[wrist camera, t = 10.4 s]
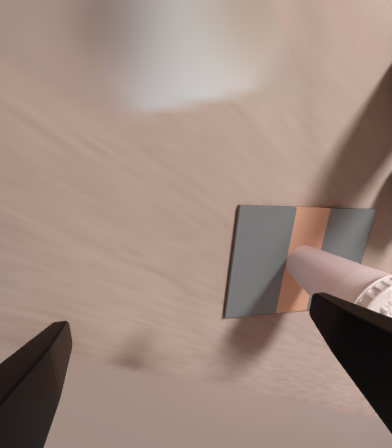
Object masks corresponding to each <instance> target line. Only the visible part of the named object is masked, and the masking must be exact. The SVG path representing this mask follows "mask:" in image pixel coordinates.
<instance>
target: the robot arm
mask: <svg viewBox="0 0 392 448" xmlns="http://www.w3.org/2000/svg"><path fill="white" fill-rule="evenodd" d="M309 313H310V316H311V318H312V320H313V322H314V323H315V325H316V327H317V328H318V330H319V331H320V333H321V335H322V336H323V338H324V340H325V341H326V343H327V345H328V346H329V348H330V349H331V351H332V353H333V354H334V355H335V357H336V358H337V360H338V361H339V362H340V364H341V365H342V367H343V368H344V369H345V371H346V372H347V373H348V375H349V376H350V377H351V379H352V380H353V382H354V383H355V384H356V386H357V387H358V388H359V390H360V391H361V392H362V394H363V395H364V397H365V398H366V399H367V401H368V402H369V403H370V405H371V406H372V408H373V409H374V410H375V412H376V413H377V414H378V416H379V417H380V418H381V420H382V421H383V423H384V424H385V425H386V427H387V428H388V429H389V431H390V432H391V433H392V318H391V317H388V316H386V315H383V314H380V313H378V312H375V311H372V310H370V309H367V308H364V307H362V306H359V305H356V304H354V303H351V302H349V301H346V300H343V299H341V298H338V297H335V296H333V295H330V294H327V293H324V292H320V293H314V294H313V295H312V299H311V304H310V310H309ZM71 350H72V337H71V332H70V326H69V323H68V322H67V321H60V322H54V323H52V324H51V325H50V326H48V327H47V328H46V329H44V330H43V331H42V332H41V333H39V334H38V335H37V336H35V337H34V338H33V339H32V340H30V341H29V342H28V343H26V344H25V345H24V346H23V347H21V348H20V349H19V350H17V351H16V352H15V353H14V354H12V355H11V356H10V357H8V358H7V359H6V360H5V361H3V362H2V363H1V364H0V448H43V447H44V444H45V442H46V439H47V436H48V433H49V430H50V427H51V424H52V421H53V418H54V415H55V412H56V409H57V406H58V403H59V400H60V396H61V393H62V389H63V384H64V380H65V376H66V371H67V367H68V363H69V358H70V354H71Z"/></svg>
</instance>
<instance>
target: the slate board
mask: <svg viewBox="0 0 392 448" xmlns="http://www.w3.org/2000/svg"><path fill="white" fill-rule="evenodd" d="M375 213H376V210H375V209H354V208H322V207H291V206H259V205H238V213H237V221H236V228H235V236H234V244H233V251H232V259H231V266H230V274H229V282H228V289H227V297H226V304H225V312H224V317H225V318H233V317H243V316H253V315H263V314H273V313H283V312H293V311H303V310H310V304H311V299H312V298H311V297H310V296H309V294H308V293H307V292H306V291H305V290H304V289H303V288H302V287H301V286H300V285H299V284H298V283H297V282H296V280H295V279H294V278H293V277H292V276H291V275H290V274H289V273H288V271H287V268H286V262H287V259H288V257H289V255H290V253H291V252H292V251H293V250H294V249H296V248H297V247H299V246H302V245H308V246H311V247H314V248H317V249H320V250H323V251H326V252H328V253H331V254H334V255H337V256H340V257H343V258H345V259H348V260H351V261H354V262H357V263H359V264H361V260H362V257H363V254H364V250H365V247H366V243H367V240H368V237H369V233H370V230H371V226H372V223H373V220H374V216H375Z"/></svg>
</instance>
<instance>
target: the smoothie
mask: <svg viewBox="0 0 392 448" xmlns="http://www.w3.org/2000/svg"><path fill="white" fill-rule="evenodd" d="M286 268H287V271H288V273H289V274H290V275H291V276H292V277H293V278H294V279H295V280H296V282H297V283H298V284H299V285H300V286H301V287H302V288H303V289H304V290H305V291H306V292H307V293H308V294H309V296H310V297H311V298H312V295H313V294H314V293H320V292H324V293H327V294H330V295H333V296H335V297H338V298H341V299H343V300H346V301H349V302H351V303H354V304H356V305H359V306H362V307H364V308H367V309H370V310H372V311H375V312H378V313H380V314H383V315H386V316H388V317H391V318H392V274H391V275H390V274H388V273H385V272H382V271H380V270H377V269H374V268H371V267H368V266H365V265H362V264H359V263H357V262H354V261H351V260H348V259H345V258H343V257H340V256H337V255H334V254H331V253H328V252H326V251H323V250H320V249H317V248H314V247H311V246H308V245H302V246H299V247H297V248H296V249H294V250H293V251H292V252H291V253H290V255H289V257H288V259H287V262H286Z"/></svg>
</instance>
